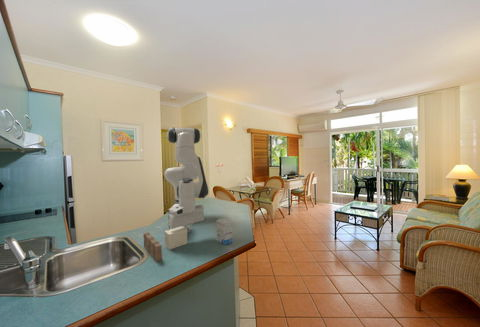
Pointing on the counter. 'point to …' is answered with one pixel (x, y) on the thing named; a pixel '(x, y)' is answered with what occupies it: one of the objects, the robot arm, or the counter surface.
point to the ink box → (224, 231)
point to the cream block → (175, 237)
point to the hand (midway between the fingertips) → (187, 231)
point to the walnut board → (153, 246)
